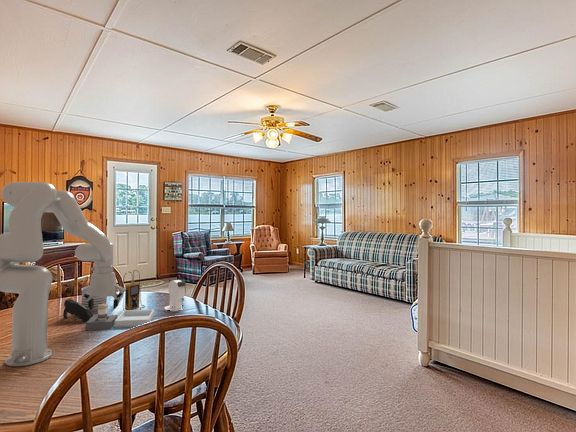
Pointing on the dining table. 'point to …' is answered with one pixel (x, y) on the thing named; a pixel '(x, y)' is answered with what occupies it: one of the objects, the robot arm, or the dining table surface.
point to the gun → (76, 310)
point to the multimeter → (132, 294)
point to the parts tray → (134, 318)
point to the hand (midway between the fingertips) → (103, 308)
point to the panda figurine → (176, 294)
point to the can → (96, 300)
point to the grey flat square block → (101, 322)
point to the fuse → (102, 311)
